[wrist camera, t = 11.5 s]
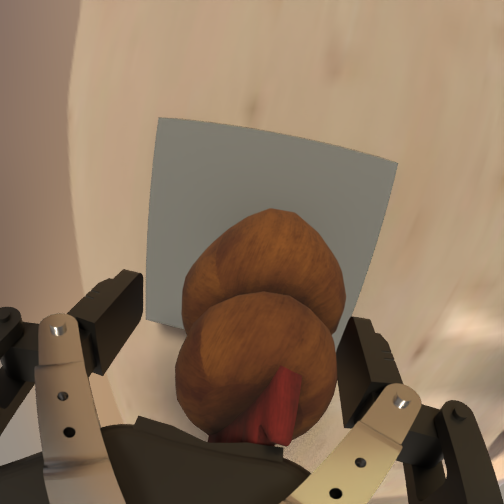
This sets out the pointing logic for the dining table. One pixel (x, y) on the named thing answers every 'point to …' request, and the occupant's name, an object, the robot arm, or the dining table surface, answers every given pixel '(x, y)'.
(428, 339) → the dining table surface
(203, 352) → the wooden figurine
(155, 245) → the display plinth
